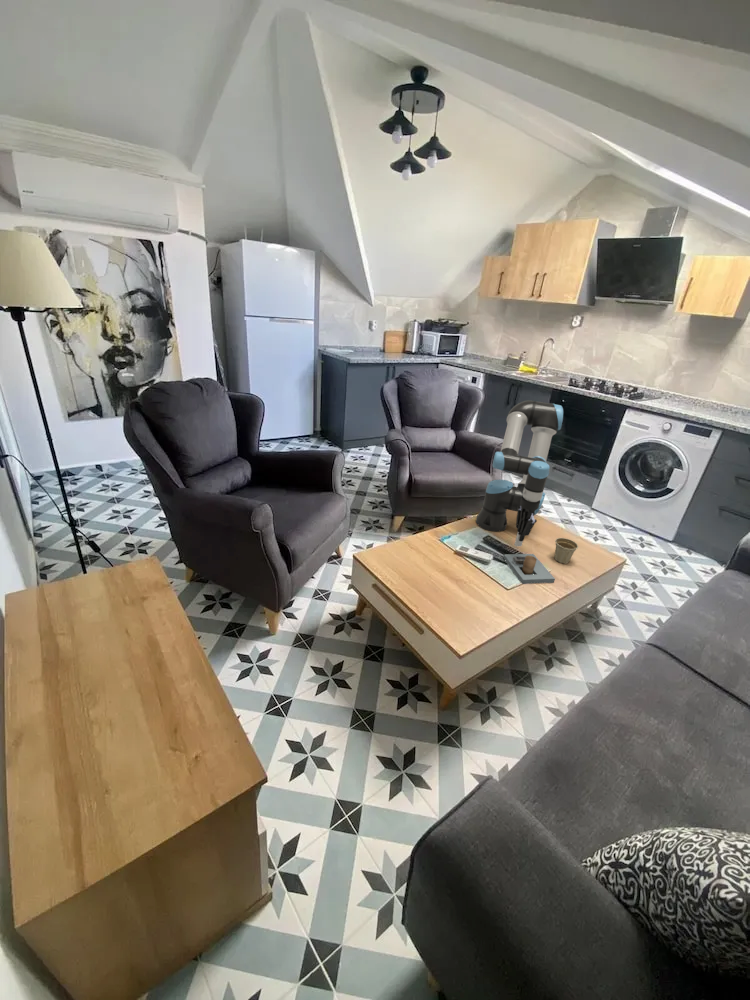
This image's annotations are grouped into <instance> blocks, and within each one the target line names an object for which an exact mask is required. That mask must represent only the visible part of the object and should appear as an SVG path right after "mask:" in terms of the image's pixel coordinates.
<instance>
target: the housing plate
mask: <svg viewBox="0 0 750 1000" xmlns="http://www.w3.org/2000/svg"><path fill="white" fill-rule="evenodd" d="M528 555H529V556H533V557H535V558H536V559H537V561H536V564H535V567H534V570H533V574H534V575H533V574H532V575H524V573H523V572H522V567H523V566H515V565H514V564H513V562H512V559H513V557H522V556H528ZM503 557H504V559H505V560H506V561H505V560H504V559H503V560H504V561H505V563H506V562H507V563H508V564H507V563H506V564H507V566H508V565H509V566H510V567H509V566H508V567H509V568H510V570H511V569H512V570H513V571H512V570H511V571H512V572H513V574H514V573H515V574H514V575H515V576H516V578H517V577H518V578H519V579H518V578H517V579H518V580H519V582H520V581H521V582H520V583H521V584H523V585H525V584H530V585H531V584H554V583H555V580H556V578H555V577H554V575H552V574H551V572H550V571H549V570H548V569H547V568H546V566H545V565H544V564H543V563H542V562H541V561H540V559H539V558H538V557H537V556H536V555H535V554H534V553H516V554H515V553H513V554H510V553H508V554H507V553H506V554H505V553H504V554H503Z"/></svg>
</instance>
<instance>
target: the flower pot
mask: <svg viewBox="0 0 750 1000" xmlns="http://www.w3.org/2000/svg"><path fill="white" fill-rule="evenodd" d="M554 541H555V549H554V560H555V561H556V562H558V563H560V564H568V563H569V562H570V561H571V559H572V558H573V557H572V556H573V555H574V553H575V552H576V550H577V549H578V548H579V545H578V543H577V542H575V541H574V540H572V539H570V538H566V537H558V538H555V540H554Z"/></svg>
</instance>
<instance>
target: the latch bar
mask: <svg viewBox="0 0 750 1000" xmlns="http://www.w3.org/2000/svg"><path fill="white" fill-rule="evenodd" d="M525 557H526V556H522V557H513V559H512V562H513V564H514V565H515V566H523V564H524V560H525Z"/></svg>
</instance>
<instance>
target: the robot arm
mask: <svg viewBox="0 0 750 1000" xmlns="http://www.w3.org/2000/svg"><path fill="white" fill-rule="evenodd" d="M563 420H564V408H563V406H562V405H560V404H555V403H551V402H544V401H543V402H542V401H536V400H523V401H521V402H519V403H517V404H515V405H514V406H513V407H512V408H511V409H510V411H508V414H507V416H506V423H507V426H506V428H505V433H504V437H503V440H502V445H501V448H500V451H495V453H494V456H493V461H492V468H493V469H496V470H500V471H504V472H509V473H514V474H515V473H516V474H521V475H522V480H521V481H520V482H518V483H517V486H515V485H514V484H513V482H512V481H511V480H510V481H509V480H507V479H494V480H493V479H492V480H491V481H489V482H488V484H487V487H486V489H485V495H484V500H483V502H482V503H483V504H482V508H481V509H480V511H479V512H478V514H477V516H476V519H475V523H476V525H477V526H479V527H480V528H481V529H484V530H486V531H491V532H503V531H505V530H506V529H507V525H508V519H507V510H508V511H512V512H516V513H517V514H516V521H515V528H516V530H517V533H516V536H515V541H514V546H515V547H522V546H523V543H524V540H525V538H526V537H527V536H530V533H531V531H532V529H533V527H534V525H535V524H536V523H537V521H538V520H537V519H536V518H535V516H536V515H537V514H538V513H539V512H540V510H541V507H542V506H543V502H544V500H545V498H546V493H545V492H544V488H545V485H546V483H547V480H548V477H549V475H550V464H548V463H547V460H548V456H549V452H550V451H549V450H550V447H551V443H552V438H553V436H554V435H556V434H557V432H558V431H561V429H562V426H563V424H562V423H563ZM526 426H531V428H530V430H531V432H532V433H533V434H532V438H531V442H530V446H529V451H528V455H527V456H525V455H524V456H523V455H520V454H519V451H520V447H521V443H522V437H523V433H524V429H525V427H526Z"/></svg>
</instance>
